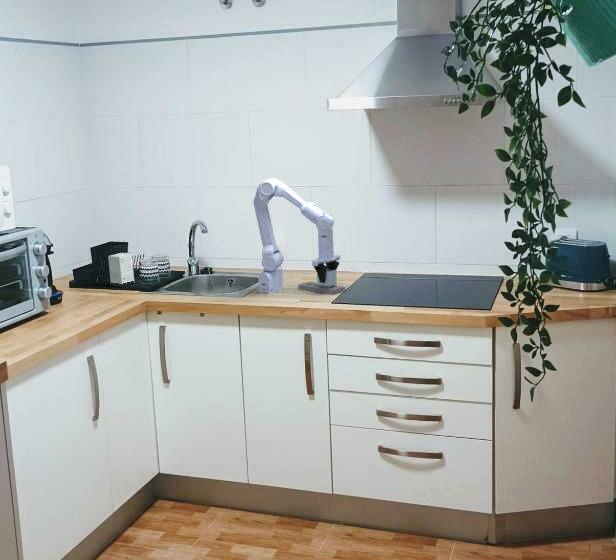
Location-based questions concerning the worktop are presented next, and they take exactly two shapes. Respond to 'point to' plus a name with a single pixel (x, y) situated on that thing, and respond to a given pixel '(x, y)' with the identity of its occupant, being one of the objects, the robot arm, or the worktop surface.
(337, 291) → the grey control panel
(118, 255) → the small box
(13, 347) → the worktop surface
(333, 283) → the block
